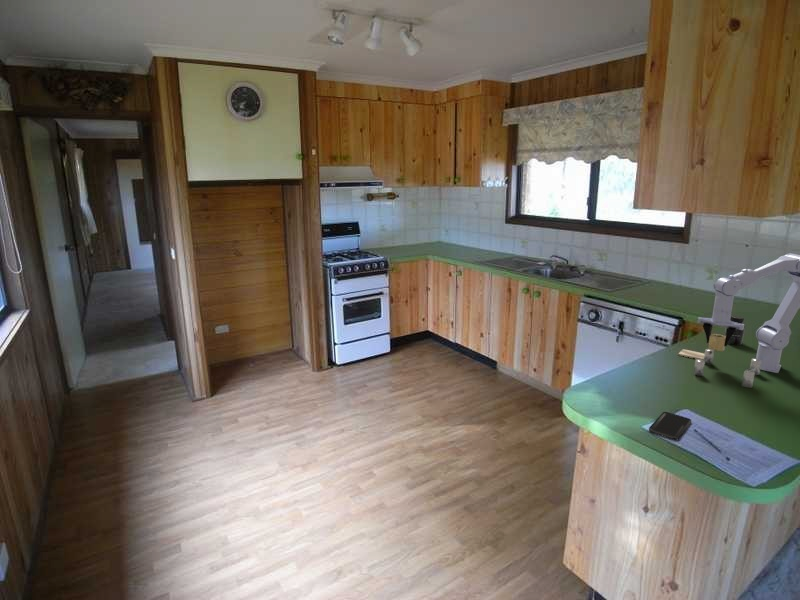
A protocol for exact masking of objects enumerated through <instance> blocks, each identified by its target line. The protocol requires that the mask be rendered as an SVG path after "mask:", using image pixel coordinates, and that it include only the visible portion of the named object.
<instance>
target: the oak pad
mask: <svg viewBox="0 0 800 600" xmlns="http://www.w3.org/2000/svg"><path fill="white" fill-rule="evenodd" d="M704 354H705V352H704V353H703V352H699V351H694V350H690V349H689V350H688V349H683V348H682V350H680V351H679V352H678V354H677V356H680V357H683V356H684V357H685V358H688V357H689V358H688V359H693V358H695V359H694V360H696V359H700V360H704Z"/></svg>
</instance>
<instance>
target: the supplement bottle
mask: <svg viewBox="0 0 800 600" xmlns="http://www.w3.org/2000/svg"><path fill="white" fill-rule="evenodd" d="M744 320H745V318H744V316H738V315H731V318H730V321H732V322H736V323H740V324H744V322H745V321H744ZM727 329H728V327H725V330H724V334H723V335H724V336H726V332H727ZM745 329H746V324H744V329H743V330H739V329H736V331H735V332H734V333H733V334H732V336H731V338H730V339H729V342H728V344H727V345H732V346H741V345H742V344H743V340H744V337H745V336H744V334H745Z"/></svg>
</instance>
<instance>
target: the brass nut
mask: <svg viewBox="0 0 800 600" xmlns="http://www.w3.org/2000/svg"><path fill="white" fill-rule="evenodd" d="M724 335H725V334H719V333H711V335H710V338H709V343H707V349H711V350H714V351H718V352H724V351H725V350H726V346H724V344H725V340H726V336H724Z"/></svg>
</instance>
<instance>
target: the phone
mask: <svg viewBox="0 0 800 600" xmlns="http://www.w3.org/2000/svg"><path fill="white" fill-rule="evenodd" d="M690 423H691V424H692V419H690V418H688V417H685V416H682V415H678V414H675V413H671V412H668V411H663V412H662V413H661V414H660V415H659V416H658V417H657V418H656V419H655V420H654V422H653V423H652V424H650V426H649V428H648V431H649V432H650V433H652V434H655V433H656V434H655V435H658V434H659V435H658V436H661V435H663V436H662V437H664V436H666V437H665V438H667V437H668V438H667V439H670V438H671V439H670V440H673V439H674V441H677V440H676V439H678V440H680V438H681V437H682V436H683V434H684V433H685V432H686V430H687V429H688V428H687V427H689V426H690V425H691V424H690ZM684 431H685V432H684Z"/></svg>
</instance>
